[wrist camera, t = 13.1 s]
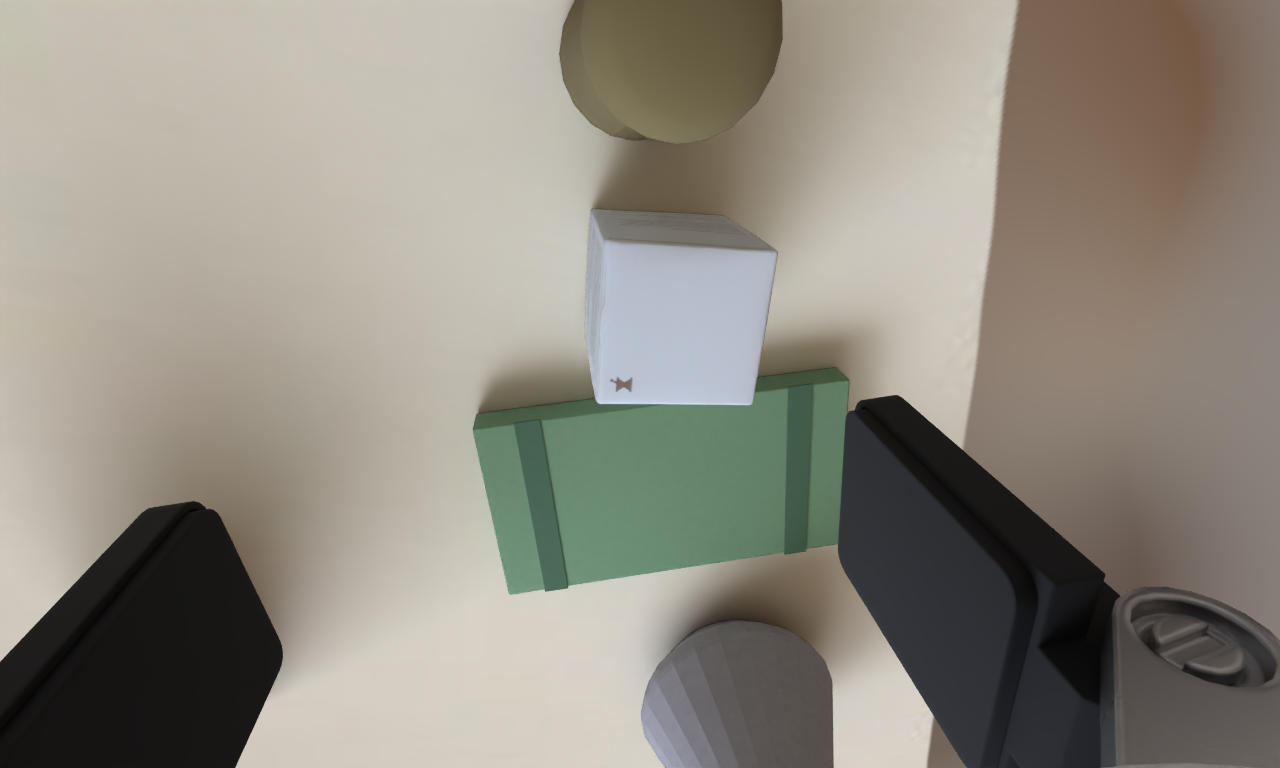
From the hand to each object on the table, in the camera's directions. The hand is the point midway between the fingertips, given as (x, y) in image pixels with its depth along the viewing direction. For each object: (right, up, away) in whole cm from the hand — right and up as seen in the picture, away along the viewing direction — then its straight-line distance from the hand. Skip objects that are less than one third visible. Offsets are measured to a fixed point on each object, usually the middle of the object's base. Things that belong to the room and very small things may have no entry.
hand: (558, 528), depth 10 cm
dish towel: (+3, -3, +23) cm, 24 cm away
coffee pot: (+8, -20, +32) cm, 38 cm away
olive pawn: (+1, +15, +15) cm, 21 cm away
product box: (+2, +7, +19) cm, 20 cm away
